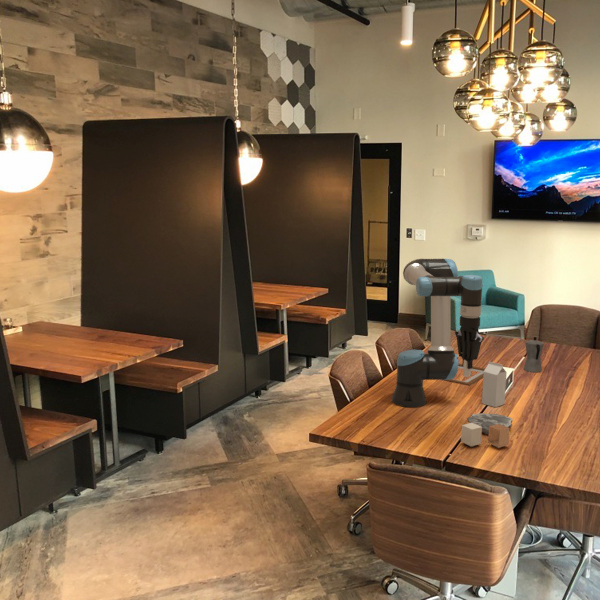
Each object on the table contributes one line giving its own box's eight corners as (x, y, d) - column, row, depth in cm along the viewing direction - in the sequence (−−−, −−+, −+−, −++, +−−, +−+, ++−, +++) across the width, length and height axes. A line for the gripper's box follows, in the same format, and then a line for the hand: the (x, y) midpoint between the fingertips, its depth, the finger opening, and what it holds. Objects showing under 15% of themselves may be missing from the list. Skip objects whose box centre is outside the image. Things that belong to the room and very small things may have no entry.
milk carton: (495, 407, 293) (497, 366, 289) (481, 403, 298) (484, 362, 295) (504, 404, 297) (507, 363, 294) (491, 400, 303) (493, 360, 299)
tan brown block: (488, 445, 251) (489, 426, 250) (497, 442, 254) (498, 423, 253) (498, 450, 247) (499, 430, 246) (508, 447, 250) (509, 428, 248)
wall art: (428, 357, 371) (494, 370, 348) (428, 360, 371) (493, 372, 348) (400, 370, 346) (469, 384, 324) (400, 372, 347) (469, 387, 324)
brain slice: (479, 416, 283) (479, 409, 282) (518, 426, 272) (518, 419, 272) (458, 429, 268) (458, 422, 267) (498, 440, 257) (499, 432, 257)
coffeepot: (520, 366, 358) (522, 333, 355) (538, 366, 358) (541, 334, 354) (527, 374, 343) (530, 340, 340) (546, 375, 343) (549, 341, 339)
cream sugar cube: (460, 441, 252) (461, 425, 251) (470, 439, 255) (471, 422, 254) (471, 446, 248) (471, 429, 247) (481, 443, 250) (482, 426, 249)
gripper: (450, 314, 255) (447, 373, 259) (475, 320, 244) (472, 382, 248) (464, 312, 259) (461, 370, 263) (490, 318, 248) (486, 379, 252)
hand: (466, 376), depth 256 cm, fingers closed
